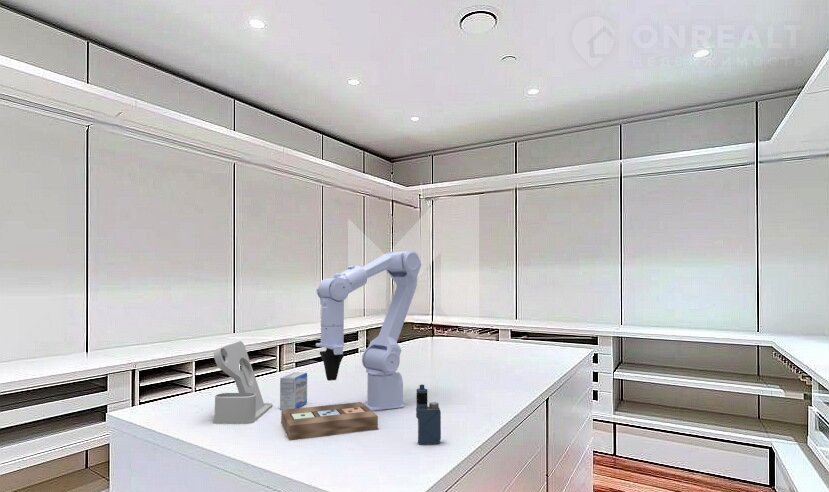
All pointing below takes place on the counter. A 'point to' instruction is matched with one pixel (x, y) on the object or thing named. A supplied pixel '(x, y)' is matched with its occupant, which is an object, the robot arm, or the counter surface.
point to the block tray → (328, 421)
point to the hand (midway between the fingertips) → (331, 379)
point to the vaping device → (427, 419)
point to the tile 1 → (302, 415)
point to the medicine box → (293, 390)
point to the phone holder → (249, 399)
